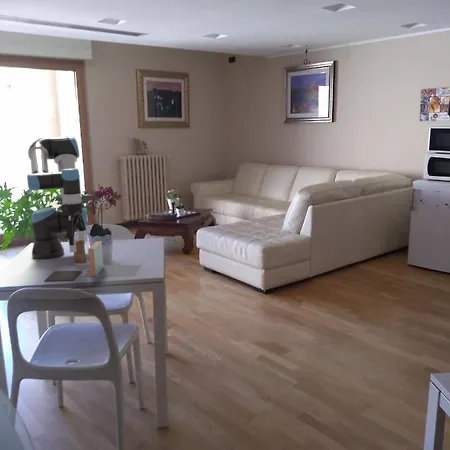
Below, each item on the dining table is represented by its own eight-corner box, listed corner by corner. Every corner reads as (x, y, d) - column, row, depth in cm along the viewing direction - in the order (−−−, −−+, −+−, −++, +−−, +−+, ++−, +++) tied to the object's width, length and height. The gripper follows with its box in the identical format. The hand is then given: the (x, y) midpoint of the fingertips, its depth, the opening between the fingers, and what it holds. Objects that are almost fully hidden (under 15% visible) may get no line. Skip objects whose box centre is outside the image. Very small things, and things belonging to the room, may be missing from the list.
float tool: (79, 261, 223) (76, 239, 221) (99, 261, 223) (97, 238, 220) (73, 266, 215) (71, 243, 213) (95, 266, 215) (93, 243, 213)
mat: (93, 267, 214) (93, 266, 214) (141, 265, 213) (141, 264, 213) (83, 278, 199) (83, 277, 199) (135, 276, 199) (134, 275, 199)
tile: (98, 267, 212) (95, 241, 209) (103, 266, 212) (101, 241, 209) (90, 275, 200) (88, 248, 198) (96, 275, 200) (94, 248, 198)
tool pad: (54, 273, 206) (54, 271, 206) (81, 272, 206) (81, 270, 206) (44, 282, 195) (44, 280, 195) (73, 282, 195) (72, 279, 194)
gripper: (72, 207, 200) (77, 255, 205) (89, 198, 225) (93, 241, 229) (55, 207, 200) (60, 255, 205) (73, 198, 225) (78, 241, 229)
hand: (77, 248), depth 217 cm, fingers open, 13 cm apart
